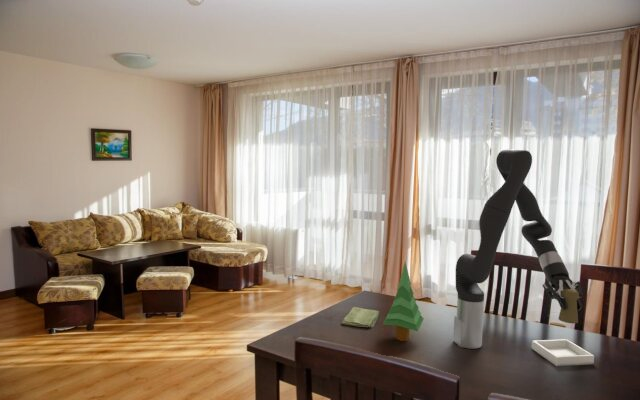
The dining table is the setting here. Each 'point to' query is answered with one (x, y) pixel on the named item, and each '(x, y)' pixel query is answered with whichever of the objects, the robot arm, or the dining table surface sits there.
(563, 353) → the tray
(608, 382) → the dining table surface
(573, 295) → the cork
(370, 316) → the washcloth
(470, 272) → the robot arm
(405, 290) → the decorative tree
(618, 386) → the dining table surface
